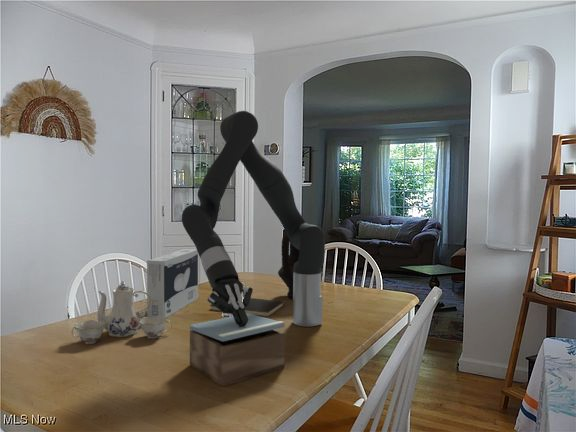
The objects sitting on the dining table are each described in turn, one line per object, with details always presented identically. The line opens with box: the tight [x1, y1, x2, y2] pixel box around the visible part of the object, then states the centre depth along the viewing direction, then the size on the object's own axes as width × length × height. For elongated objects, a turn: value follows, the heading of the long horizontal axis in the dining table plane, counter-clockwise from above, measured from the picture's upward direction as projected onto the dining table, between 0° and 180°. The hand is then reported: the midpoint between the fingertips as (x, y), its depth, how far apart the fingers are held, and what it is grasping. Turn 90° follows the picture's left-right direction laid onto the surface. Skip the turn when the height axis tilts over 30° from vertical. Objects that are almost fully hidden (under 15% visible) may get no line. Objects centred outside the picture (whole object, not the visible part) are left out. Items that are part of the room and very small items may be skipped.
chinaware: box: [71, 280, 173, 345], centre depth 137 cm, size 28×17×17 cm, turn 113°
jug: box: [277, 230, 323, 299], centre depth 188 cm, size 21×18×30 cm
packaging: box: [146, 248, 199, 318], centre depth 169 cm, size 30×6×20 cm, turn 168°
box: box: [189, 329, 286, 387], centre depth 115 cm, size 16×18×9 cm
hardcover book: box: [209, 297, 285, 317], centre depth 171 cm, size 16×23×2 cm
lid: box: [189, 313, 286, 342], centre depth 115 cm, size 16×18×1 cm
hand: (243, 324), depth 112 cm, fingers closed
